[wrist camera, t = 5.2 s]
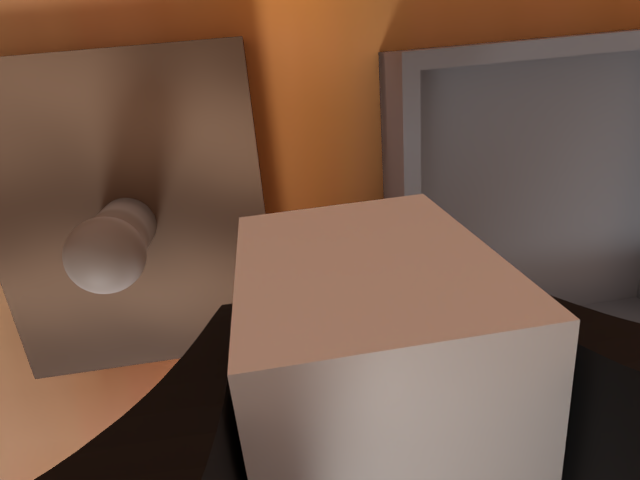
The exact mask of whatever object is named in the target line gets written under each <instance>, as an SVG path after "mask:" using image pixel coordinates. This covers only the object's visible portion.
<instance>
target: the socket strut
mask: <svg viewBox="0 0 640 480" xmlns="http://www.w3.org/2000/svg"><path fill="white" fill-rule="evenodd" d="M579 326H580V319H579V318H577V317H576V316H575V315H574V314H572V313H571V312H570V311H569V310H567V309H566V308H565V307H564V306H562V305H561V304H560V303H559V302H557V301H556V300H555V299H554V298H552V297H551V296H550V295H549V294H547V293H546V292H545V291H544V290H542V289H541V288H540V287H539V286H537V285H536V284H535V283H534V282H532V281H531V280H530V279H529V278H527V277H526V276H525V275H524V274H523V273H521V272H520V271H519V270H518V269H516V268H515V267H514V266H513V265H511V264H510V263H509V262H508V261H506V260H505V259H504V258H503V257H501V256H500V255H499V254H498V253H496V252H495V251H494V250H493V249H491V248H490V247H489V246H488V245H486V244H485V243H484V242H483V241H481V240H480V239H479V238H478V237H476V236H475V235H474V234H473V233H471V232H470V231H469V230H468V229H466V228H465V227H464V226H463V225H461V224H460V223H459V222H458V221H456V220H455V219H454V218H453V217H451V216H450V215H449V214H448V213H447V212H445V211H444V210H443V209H442V208H440V207H439V206H438V205H437V204H435V203H434V202H433V201H432V200H430V199H429V198H428V197H427V196H425V195H424V194H417V195H409V196H402V197H394V198H386V199H379V200H371V201H363V202H355V203H348V204H340V205H332V206H324V207H317V208H309V209H301V210H294V211H286V212H278V213H270V214H263V215H255V216H247V217H239V226H238V239H237V252H236V266H235V279H234V292H233V306H232V319H231V332H230V345H229V359H228V372H227V377H228V382H229V387H230V392H231V397H232V402H233V407H234V412H235V418H236V423H237V428H238V433H239V438H240V443H241V448H242V453H243V458H244V463H245V468H246V473H247V479H248V480H561V478H562V470H563V461H564V453H565V444H566V436H567V428H568V419H569V411H570V402H571V394H572V385H573V377H574V368H575V360H576V351H577V343H578V334H579Z"/></svg>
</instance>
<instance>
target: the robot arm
mask: <svg viewBox="0 0 640 480" xmlns="http://www.w3.org/2000/svg"><path fill="white" fill-rule="evenodd" d="M550 296H551V297H552V298H554V299H555V300H556V301H557V302H559V303H560V304H561V305H562V306H564V307H565V308H566V309H567V310H569V311H570V312H571V313H572V314H574V315H575V316H576V317H577V318H579V319H580V326H579V334H578V343H577V351H576V360H575V368H574V377H573V385H572V394H571V402H570V411H569V419H568V428H567V436H566V444H565V453H564V461H563V470H562V478H561V480H640V323H638V322H634V321H630V320H626V319H622V318H619V317H615V316H612V315H608V314H605V313H602V312H599V311H596V310H593V309H590V308H586V307H583V306H580V305H577V304H574V303H571V302H568V301H566V300H563V299H560V298H557V297H554V296H552V295H550ZM232 306H233V303H232V304H225V305H221V307H220V308H219V309H218V310H217V312H216V313H215V314H214V315H213V317H212V318H211V320H210V321H209V322H208V324H207V325H206V327H205V328H204V329H203V331H202V332H201V333H200V335H199V336H198V337H197V339H196V340H195V341H194V342H193V344H192V345H191V346H190V347H189V349H188V350H187V351H186V352H185V354H184V355H183V356H182V357H181V359H180V360H179V361H178V362H177V363H176V364H175V365H174V366H173V368H172V369H171V370H170V371H169V372H168V373H167V374H166V375H165V376H164V378H163V379H162V380H161V381H160V382H159V383H158V384H157V385H156V386H155V387H154V388H153V389H152V390H151V391H150V392H149V393H148V394H147V395H146V396H145V397H143V398H142V399H141V400H140V401H139V402H138V403H137V404H136V405H135V406H133V407H132V408H131V409H130V410H129V411H128V412H127V413H126V414H124V415H123V416H122V417H121V418H120V419H118V420H117V421H116V422H114V423H113V424H112V425H111V426H109V427H108V428H107V429H105V430H104V431H103V432H101V433H100V434H99V435H98V436H96V437H95V438H94V439H92V440H91V441H90V442H88V443H87V444H86V445H84V446H83V447H82V448H81V449H79V450H78V451H76V452H75V453H74V454H72V455H71V456H69V457H68V458H66V459H65V460H63V461H62V462H60V463H59V464H58V465H56V466H55V467H53V468H52V469H50V470H49V471H47V472H46V473H44V474H42V475H41V476H39V477H38V478H36V479H34V480H248V479H247V473H246V468H245V463H244V458H243V453H242V448H241V443H240V438H239V433H238V428H237V423H236V418H235V412H234V407H233V402H232V397H231V392H230V387H229V382H228V377H227V372H228V359H229V345H230V332H231V319H232Z"/></svg>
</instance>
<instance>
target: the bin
mask: <svg viewBox="0 0 640 480" xmlns="http://www.w3.org/2000/svg"><path fill="white" fill-rule="evenodd" d="M379 80H380V108H381V135H382V163H383V191H384V199H386V198H394V197H402V196H409V195H417V194H424V195H425V196H427V197H428V198H429V199H430V200H432V201H433V202H434V203H435V204H437V205H438V206H439V207H440V208H442V209H443V210H444V211H445V212H447V213H448V214H449V215H450V216H451V217H453V218H454V219H455V220H456V221H458V222H459V223H460V224H461V225H463V226H464V227H465V228H466V229H468V230H469V231H470V232H471V233H473V234H474V235H475V236H476V237H478V238H479V239H480V240H481V241H483V242H484V243H485V244H486V245H488V246H489V247H490V248H491V249H493V250H494V251H495V252H496V253H498V254H499V255H500V256H501V257H503V258H504V259H505V260H506V261H508V262H509V263H510V264H511V265H513V266H514V267H515V268H516V269H518V270H519V271H520V272H521V273H523V274H524V275H525V276H526V277H527V278H529V279H530V280H531V281H532V282H534V283H535V284H536V285H537V286H539V287H540V288H541V289H542V290H544V291H545V292H546V293H547V294H549V295H552V296H554V297H557V298H560V299H563V300H566V301H568V302H571V303H574V304H577V305H580V306H583V307H586V308H590V309H593V310H596V311H599V312H602V313H605V314H608V315H612V316H615V317H619V318H622V319H626V320H630V321H634V322H638V323H640V29H633V30H622V31H611V32H600V33H589V34H577V35H566V36H555V37H544V38H533V39H522V40H511V41H500V42H489V43H477V44H466V45H455V46H444V47H433V48H422V49H411V50H400V51H389V52H379Z"/></svg>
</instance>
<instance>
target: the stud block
mask: <svg viewBox="0 0 640 480" xmlns="http://www.w3.org/2000/svg"><path fill="white" fill-rule="evenodd" d="M263 214H266V213H265V206H264V198H263V190H262V183H261V175H260V167H259V159H258V152H257V144H256V136H255V129H254V121H253V113H252V105H251V98H250V90H249V82H248V75H247V67H246V59H245V51H244V44H243V37H242V36H239V37H227V38H215V39H203V40H192V41H180V42H168V43H156V44H144V45H133V46H121V47H109V48H97V49H85V50H74V51H62V52H50V53H38V54H26V55H15V56H3V57H0V283H1V286H2V288H3V291H4V294H5V297H6V300H7V302H8V305H9V308H10V311H11V314H12V316H13V319H14V322H15V325H16V328H17V330H18V333H19V336H20V339H21V341H22V344H23V347H24V350H25V353H26V355H27V358H28V361H29V364H30V367H31V369H32V372H33V375H34V378H35V379H39V378H46V377H53V376H60V375H67V374H74V373H81V372H88V371H95V370H102V369H109V368H116V367H123V366H130V365H136V364H143V363H150V362H157V361H164V360H171V359H178V358H181V357H182V356H183V355H184V354H185V352H186V351H187V350H188V349H189V347H190V346H191V345H192V344H193V342H194V341H195V340H196V339H197V337H198V336H199V335H200V333H201V332H202V331H203V329H204V328H205V327H206V325H207V324H208V322H209V321H210V320H211V318H212V317H213V315H214V314H215V313H216V312H217V310H218V309H219V308H220V307H221V305H225V304H232V303H233V292H234V279H235V266H236V252H237V239H238V226H239V217H247V216H255V215H263Z"/></svg>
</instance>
